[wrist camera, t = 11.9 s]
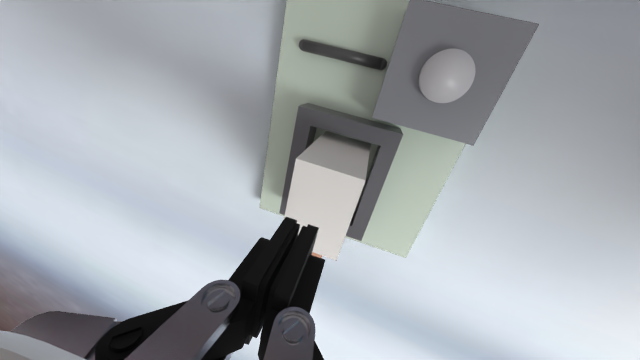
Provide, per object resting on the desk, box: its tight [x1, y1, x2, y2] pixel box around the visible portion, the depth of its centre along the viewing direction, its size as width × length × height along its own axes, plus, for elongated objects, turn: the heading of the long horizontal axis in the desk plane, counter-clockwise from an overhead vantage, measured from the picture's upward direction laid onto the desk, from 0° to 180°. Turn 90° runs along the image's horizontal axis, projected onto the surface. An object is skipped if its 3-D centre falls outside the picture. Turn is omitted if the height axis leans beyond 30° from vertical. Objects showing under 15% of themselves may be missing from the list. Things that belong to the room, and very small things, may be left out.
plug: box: [284, 131, 371, 261], centre depth 18 cm, size 4×7×8 cm, turn 166°
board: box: [260, 0, 539, 258], centre depth 19 cm, size 16×20×5 cm
